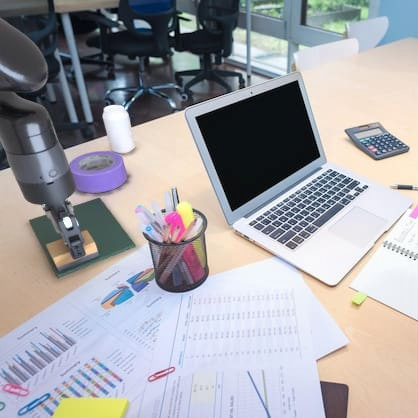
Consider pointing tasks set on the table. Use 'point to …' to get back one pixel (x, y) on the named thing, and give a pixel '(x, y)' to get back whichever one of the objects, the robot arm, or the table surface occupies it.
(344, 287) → the table surface
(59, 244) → the eraser
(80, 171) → the tape roll
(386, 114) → the table surface
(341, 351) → the table surface
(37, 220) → the chalkboard
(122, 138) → the beverage can
